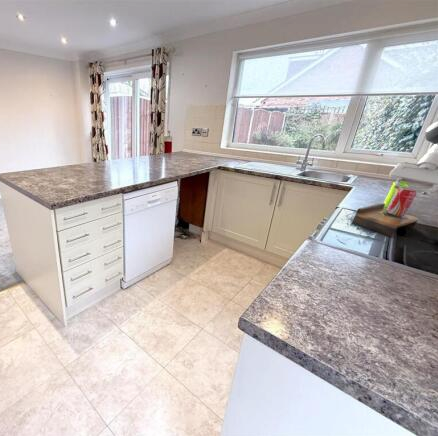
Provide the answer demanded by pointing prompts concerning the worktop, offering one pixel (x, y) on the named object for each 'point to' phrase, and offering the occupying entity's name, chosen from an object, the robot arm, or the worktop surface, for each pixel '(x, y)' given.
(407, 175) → the robot arm
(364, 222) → the shelf
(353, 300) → the worktop surface
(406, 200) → the beverage can
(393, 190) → the soap dispenser
